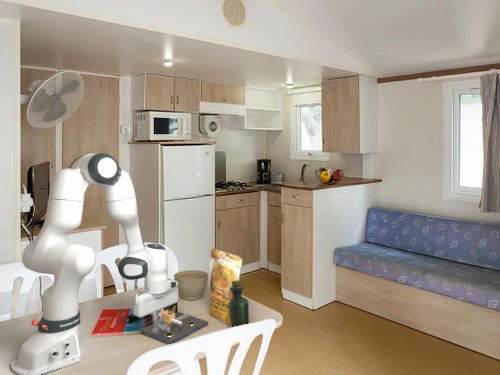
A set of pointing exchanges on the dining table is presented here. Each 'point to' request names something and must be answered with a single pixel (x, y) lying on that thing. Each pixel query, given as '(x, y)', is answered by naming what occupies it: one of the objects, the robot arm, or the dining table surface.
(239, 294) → the potion bottle
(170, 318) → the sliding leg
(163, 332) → the bolt plate
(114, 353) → the dining table surface
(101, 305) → the dining table surface
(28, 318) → the dining table surface
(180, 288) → the planter bowl
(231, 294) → the pancake mix bag
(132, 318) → the electric trimmer
